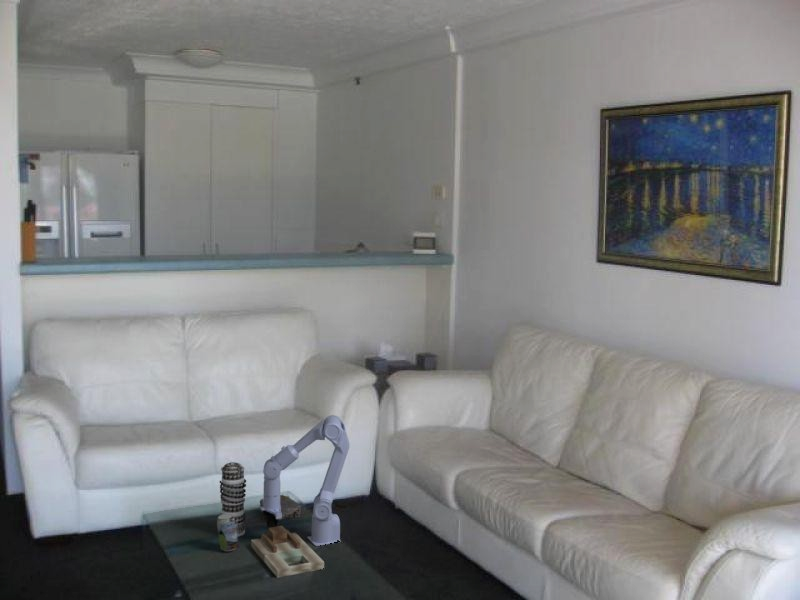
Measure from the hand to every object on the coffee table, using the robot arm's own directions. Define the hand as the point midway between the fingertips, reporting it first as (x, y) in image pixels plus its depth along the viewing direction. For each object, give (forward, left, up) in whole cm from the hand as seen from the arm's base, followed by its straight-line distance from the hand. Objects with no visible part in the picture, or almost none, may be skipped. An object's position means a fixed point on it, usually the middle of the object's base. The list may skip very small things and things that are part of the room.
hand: (271, 531), depth 335 cm
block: (0, +6, -1) cm, 6 cm away
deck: (0, +15, -3) cm, 15 cm away
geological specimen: (-11, -22, -4) cm, 25 cm away
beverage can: (+16, +1, -4) cm, 16 cm away
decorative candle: (+10, -12, -4) cm, 16 cm away
